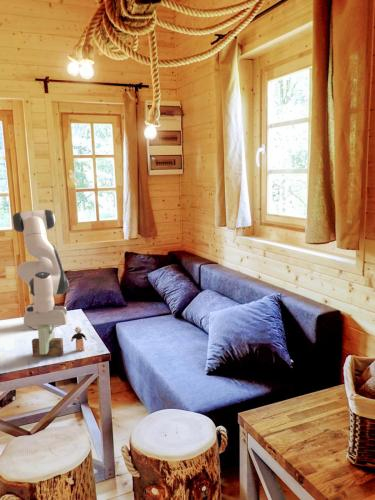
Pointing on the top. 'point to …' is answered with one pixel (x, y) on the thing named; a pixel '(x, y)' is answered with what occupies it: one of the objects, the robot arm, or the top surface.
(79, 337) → the grandmother figurine
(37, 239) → the robot arm
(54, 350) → the wooden u-shaped block
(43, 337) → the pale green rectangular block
